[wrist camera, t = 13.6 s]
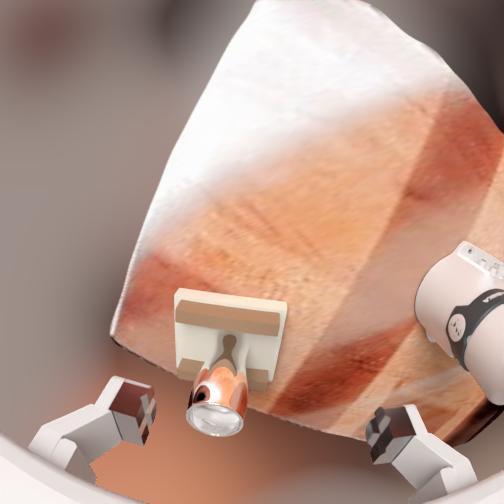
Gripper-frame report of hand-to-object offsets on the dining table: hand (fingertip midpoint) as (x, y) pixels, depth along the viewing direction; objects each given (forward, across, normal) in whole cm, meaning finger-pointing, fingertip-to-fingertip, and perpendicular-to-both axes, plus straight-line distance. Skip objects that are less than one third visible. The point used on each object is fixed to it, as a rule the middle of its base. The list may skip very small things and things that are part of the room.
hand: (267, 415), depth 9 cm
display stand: (+31, +4, +19) cm, 37 cm away
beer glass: (+29, +3, +19) cm, 35 cm away
